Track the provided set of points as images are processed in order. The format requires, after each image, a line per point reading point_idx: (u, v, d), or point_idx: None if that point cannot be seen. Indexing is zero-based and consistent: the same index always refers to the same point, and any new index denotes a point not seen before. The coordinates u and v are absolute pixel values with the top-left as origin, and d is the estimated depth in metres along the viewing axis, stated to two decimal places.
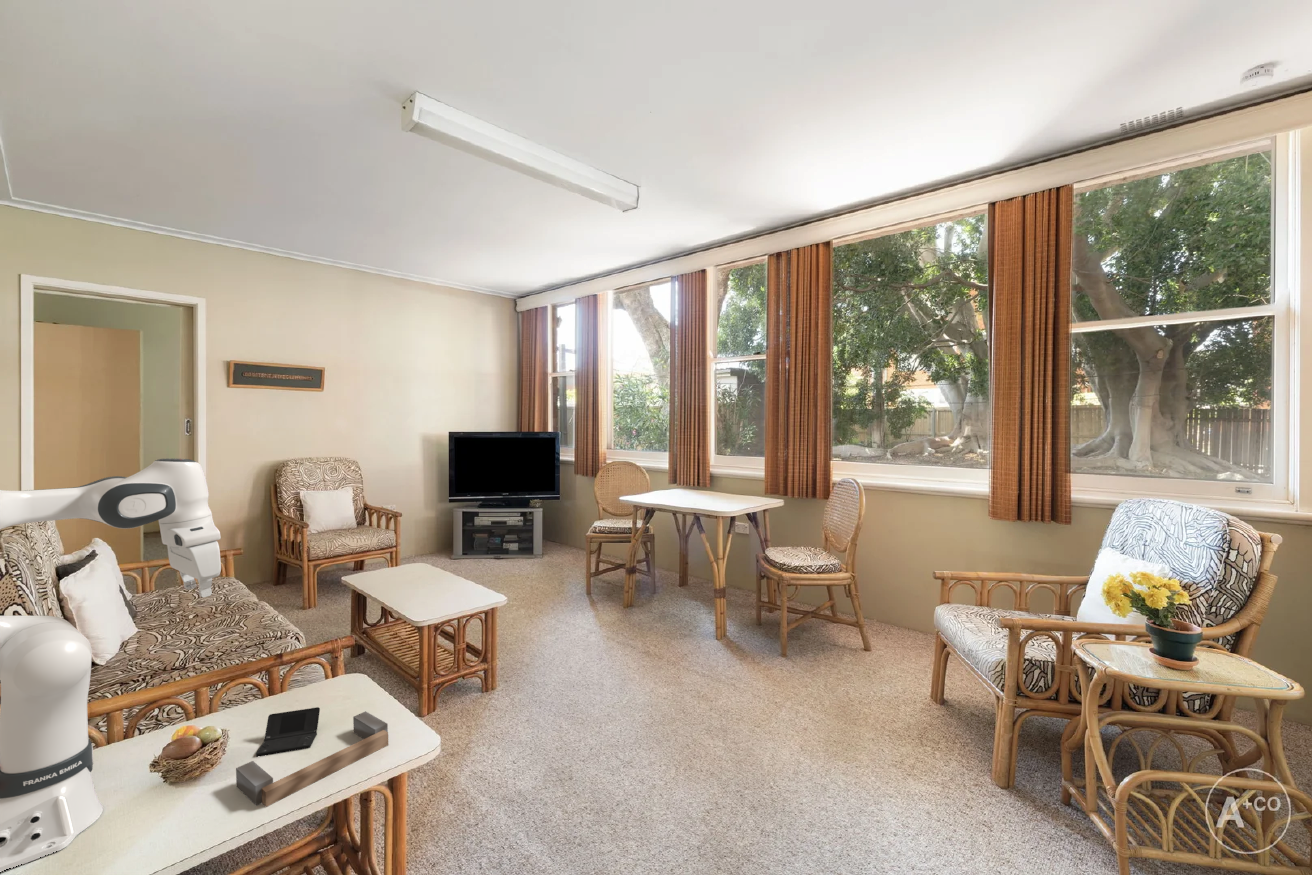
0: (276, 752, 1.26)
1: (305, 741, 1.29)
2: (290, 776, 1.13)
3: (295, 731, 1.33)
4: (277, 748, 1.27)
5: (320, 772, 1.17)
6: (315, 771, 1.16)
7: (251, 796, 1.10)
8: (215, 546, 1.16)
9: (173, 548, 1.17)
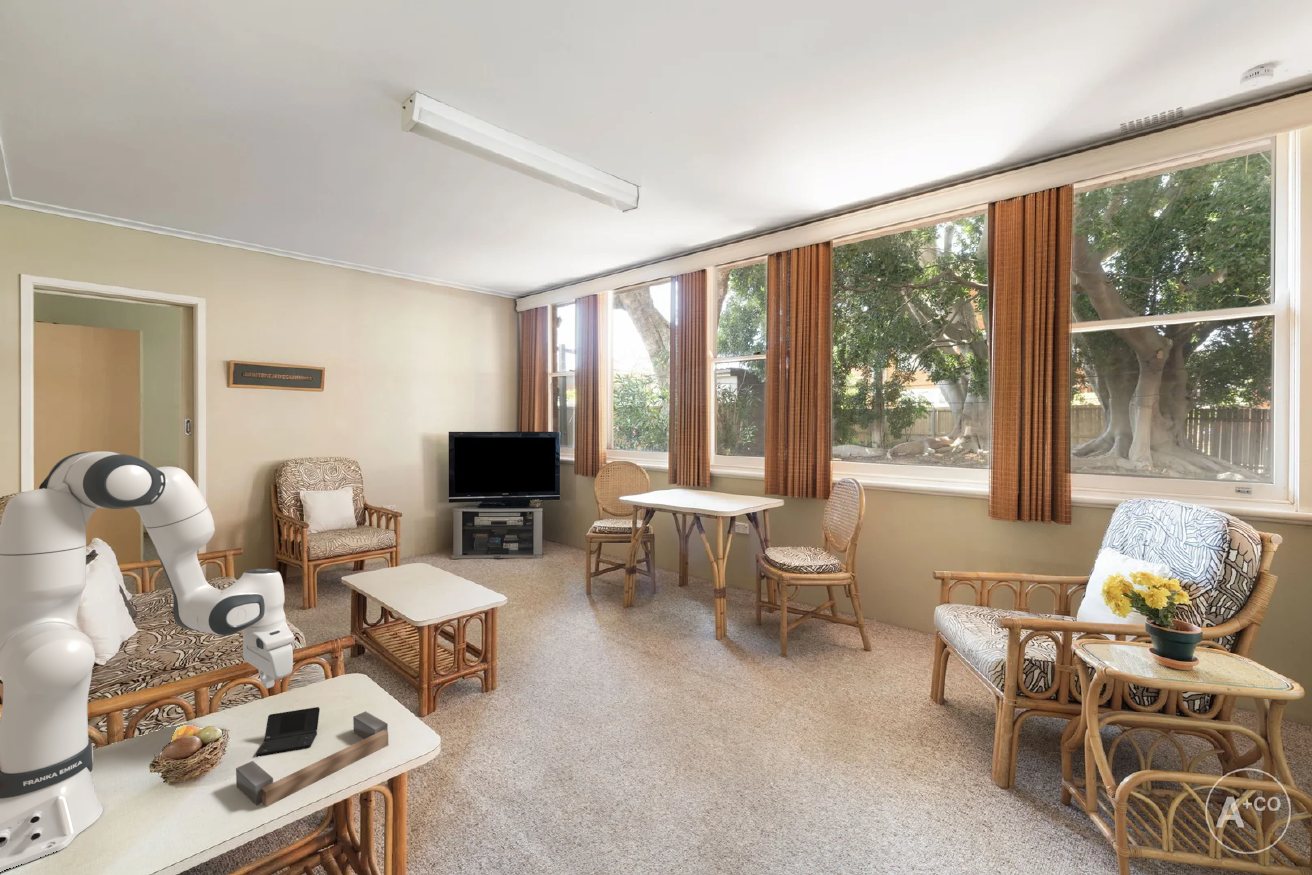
0: (276, 752, 1.26)
1: (306, 741, 1.29)
2: (290, 776, 1.13)
3: (295, 731, 1.33)
4: (277, 748, 1.27)
5: (320, 772, 1.17)
6: (315, 771, 1.16)
7: (251, 796, 1.10)
8: (289, 648, 1.34)
9: (252, 648, 1.35)
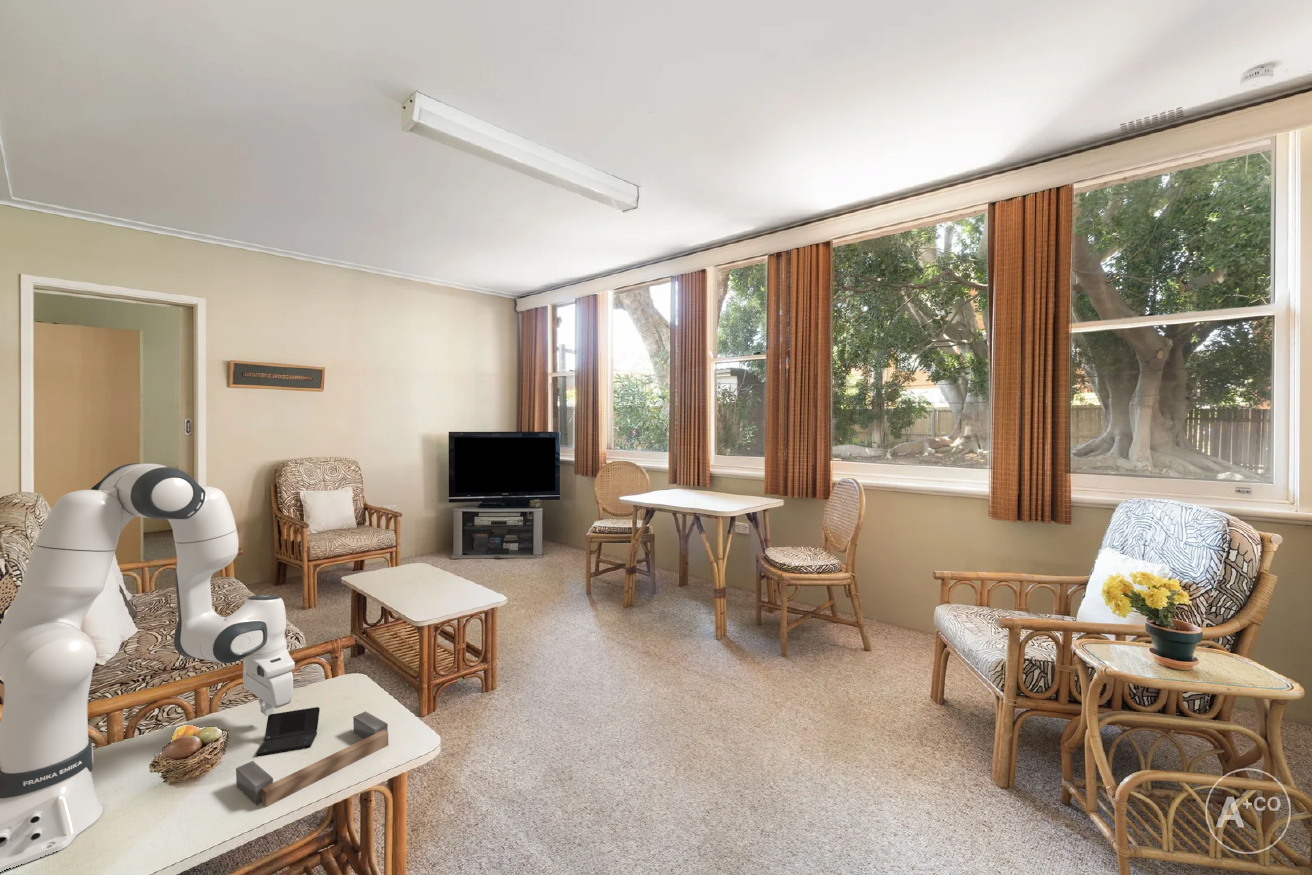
0: (276, 752, 1.26)
1: (306, 741, 1.30)
2: (290, 776, 1.13)
3: (295, 731, 1.33)
4: (277, 748, 1.27)
5: (320, 772, 1.17)
6: (315, 771, 1.16)
7: (251, 796, 1.10)
8: (290, 676, 1.34)
9: (253, 675, 1.34)
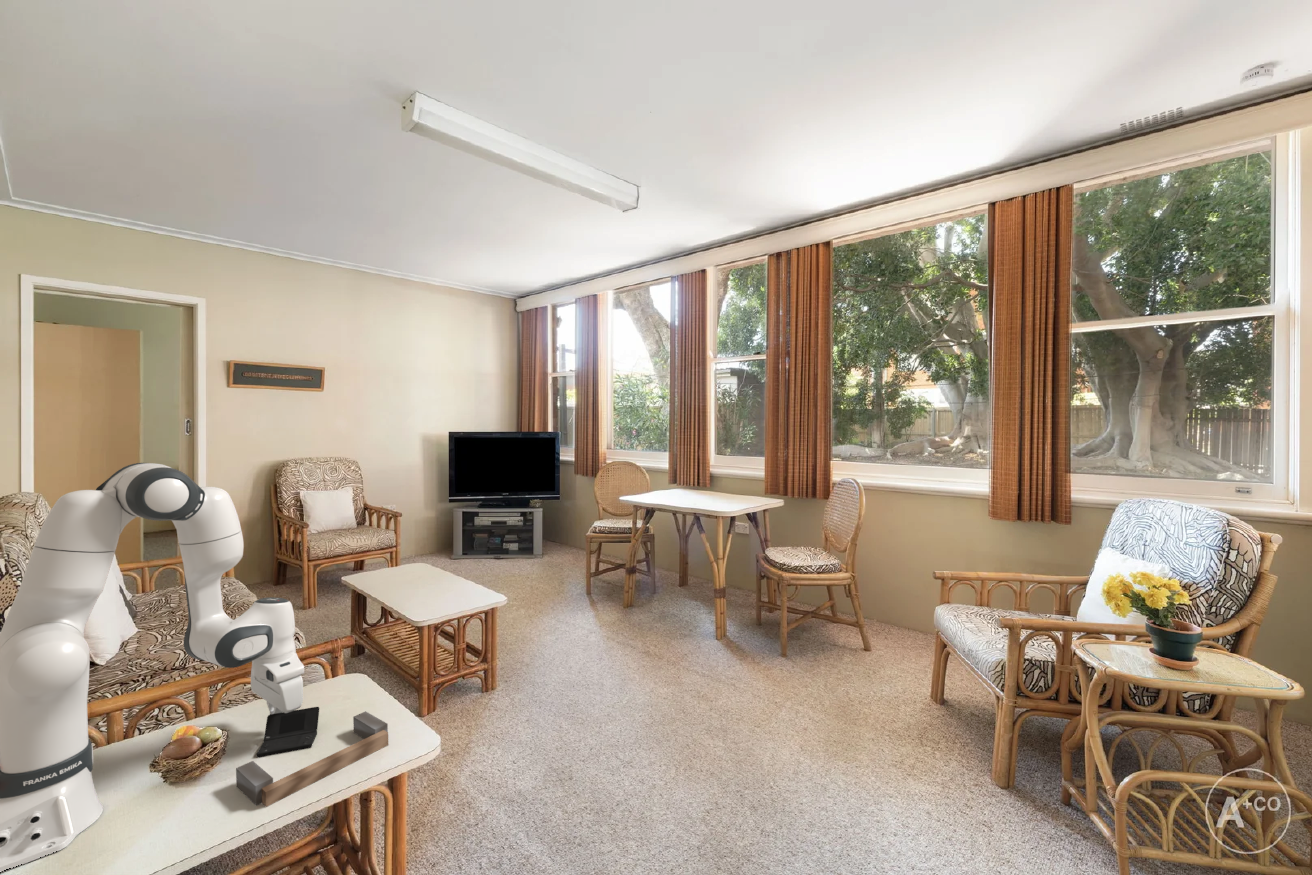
0: (277, 752, 1.26)
1: (306, 740, 1.29)
2: (290, 776, 1.13)
3: (295, 731, 1.33)
4: (278, 747, 1.27)
5: (320, 772, 1.17)
6: (315, 771, 1.16)
7: (251, 796, 1.10)
8: (300, 680, 1.31)
9: (261, 680, 1.32)
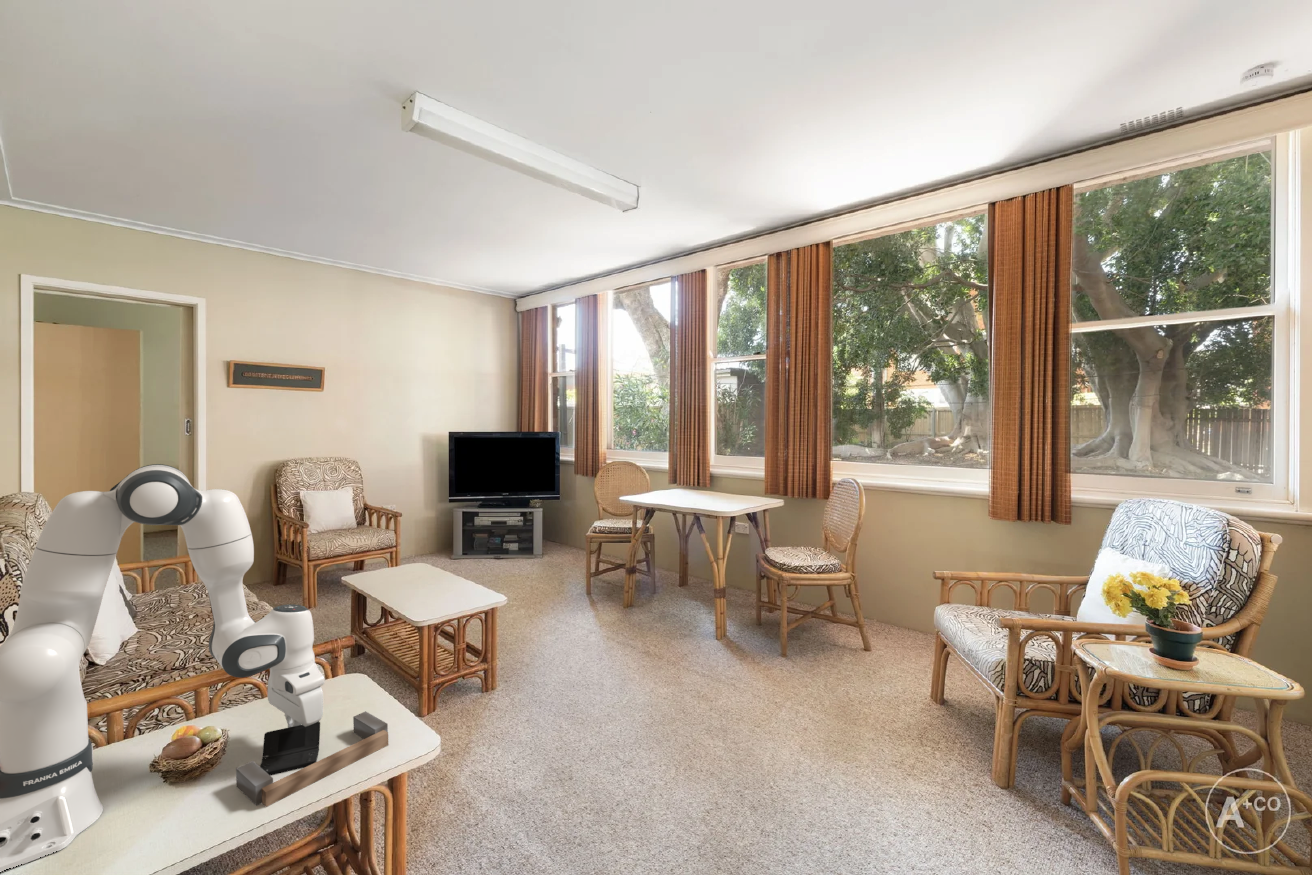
0: (279, 771, 1.19)
1: (310, 757, 1.23)
2: (290, 776, 1.13)
3: (296, 748, 1.26)
4: (280, 766, 1.20)
5: (320, 772, 1.17)
6: (315, 771, 1.16)
7: (251, 796, 1.10)
8: (320, 692, 1.25)
9: (280, 691, 1.26)
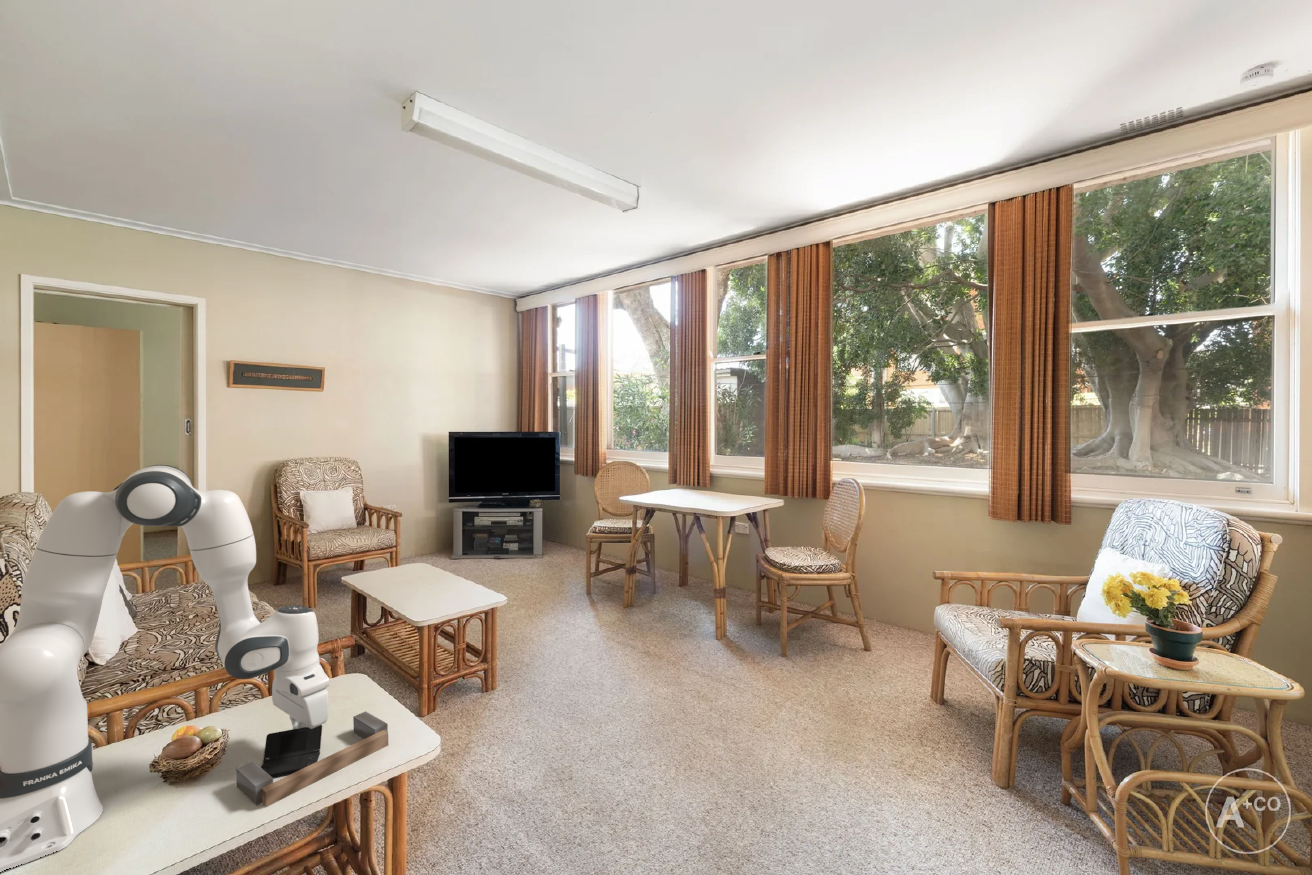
0: (278, 774, 1.18)
1: (309, 761, 1.21)
2: (290, 776, 1.13)
3: (297, 751, 1.24)
4: (278, 770, 1.18)
5: (320, 772, 1.17)
6: (315, 771, 1.16)
7: (251, 796, 1.10)
8: (325, 694, 1.24)
9: (284, 693, 1.25)
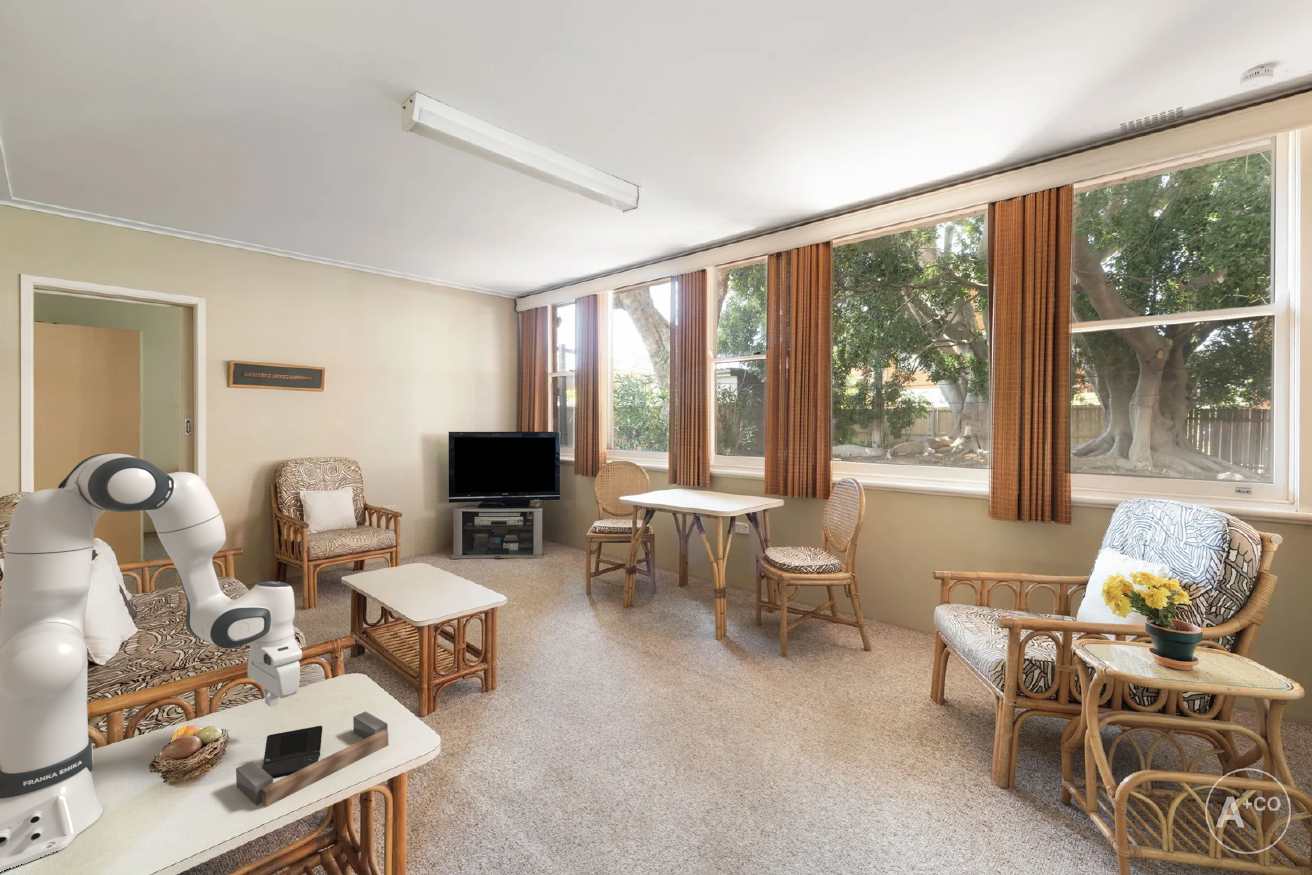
0: (278, 776, 1.18)
1: (309, 763, 1.21)
2: (290, 776, 1.13)
3: (297, 752, 1.24)
4: (279, 771, 1.18)
5: (320, 772, 1.17)
6: (315, 771, 1.16)
7: (251, 796, 1.10)
8: (297, 666, 1.30)
9: (259, 664, 1.31)
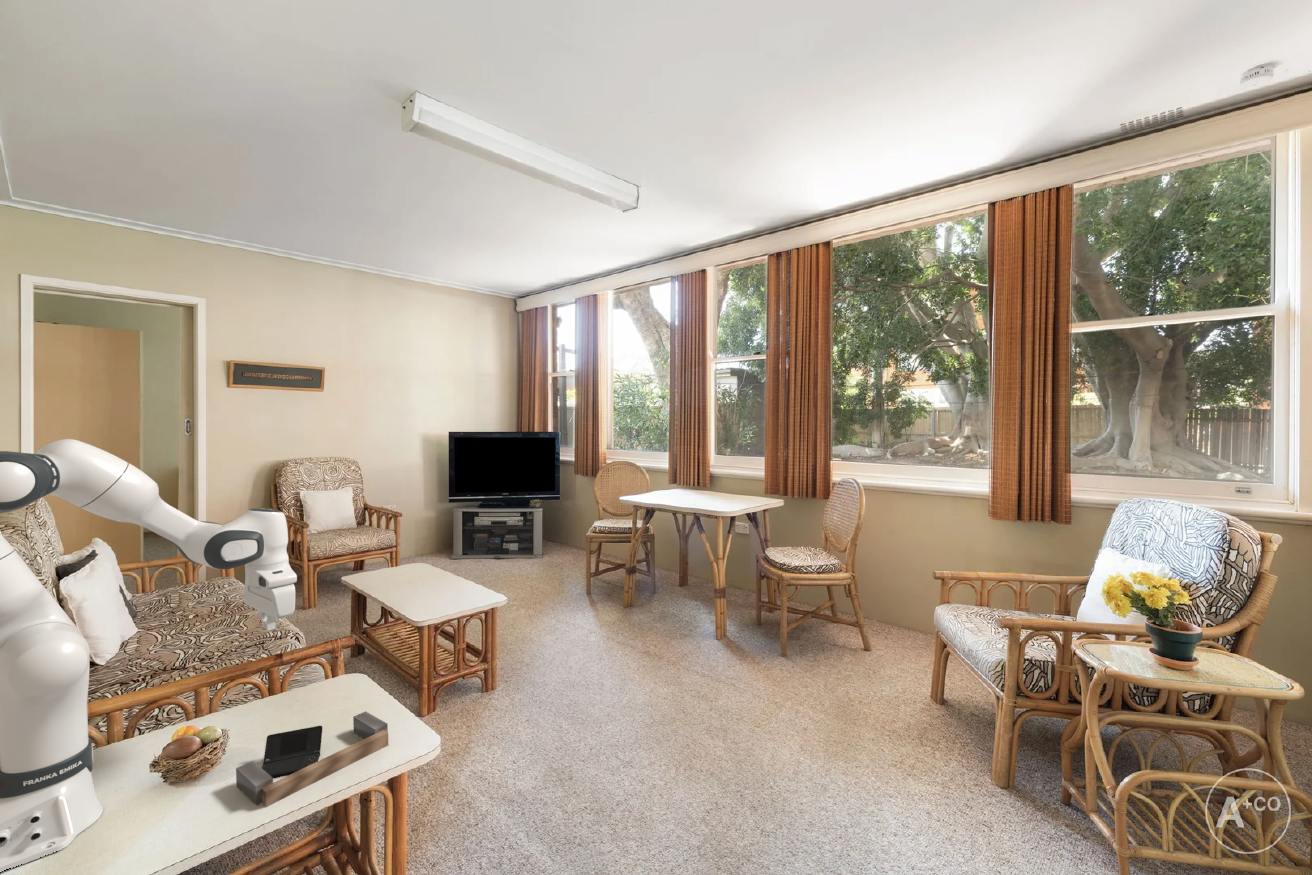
0: (278, 776, 1.18)
1: (309, 763, 1.21)
2: (290, 776, 1.13)
3: (297, 752, 1.24)
4: (279, 771, 1.18)
5: (320, 772, 1.17)
6: (315, 771, 1.16)
7: (251, 796, 1.10)
8: (292, 588, 1.32)
9: (254, 588, 1.32)
